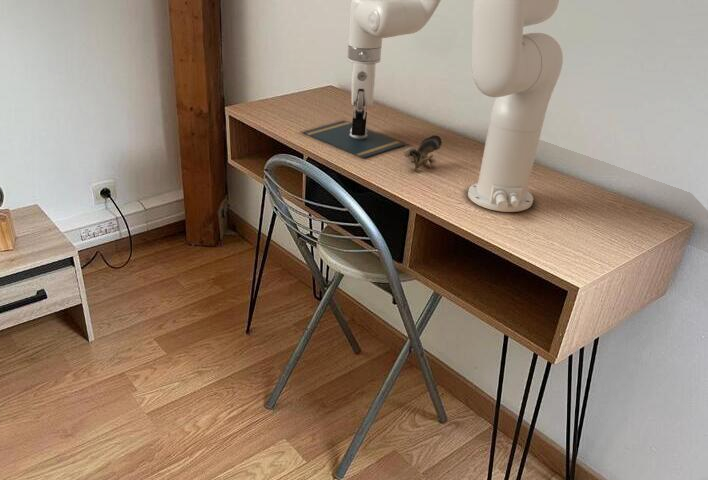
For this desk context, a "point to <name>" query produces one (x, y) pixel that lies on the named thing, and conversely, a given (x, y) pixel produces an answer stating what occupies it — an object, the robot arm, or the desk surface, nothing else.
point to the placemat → (353, 140)
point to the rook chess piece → (359, 135)
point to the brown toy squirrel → (424, 151)
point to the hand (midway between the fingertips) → (358, 130)
